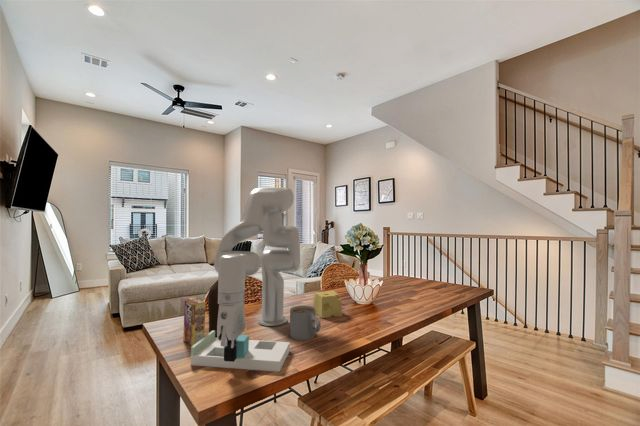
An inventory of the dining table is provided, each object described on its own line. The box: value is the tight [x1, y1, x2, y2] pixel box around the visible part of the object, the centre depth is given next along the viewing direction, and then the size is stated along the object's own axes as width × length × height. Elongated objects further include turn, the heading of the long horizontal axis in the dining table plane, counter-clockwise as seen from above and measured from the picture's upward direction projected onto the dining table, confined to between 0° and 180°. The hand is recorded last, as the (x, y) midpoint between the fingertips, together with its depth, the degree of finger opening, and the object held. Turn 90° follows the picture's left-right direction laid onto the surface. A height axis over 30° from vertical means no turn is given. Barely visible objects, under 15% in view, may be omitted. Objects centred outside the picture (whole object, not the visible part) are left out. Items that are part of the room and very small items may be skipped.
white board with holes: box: [190, 330, 291, 373], centre depth 98 cm, size 14×28×6 cm, turn 83°
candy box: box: [182, 297, 207, 347], centre depth 109 cm, size 9×4×15 cm, turn 47°
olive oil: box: [207, 279, 220, 338], centre depth 119 cm, size 11×11×25 cm
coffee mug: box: [289, 305, 322, 341], centre depth 116 cm, size 13×10×10 cm
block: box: [235, 334, 250, 358], centre depth 94 cm, size 5×5×5 cm
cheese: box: [313, 290, 343, 319], centre depth 144 cm, size 10×11×10 cm
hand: (230, 360), depth 88 cm, fingers closed
